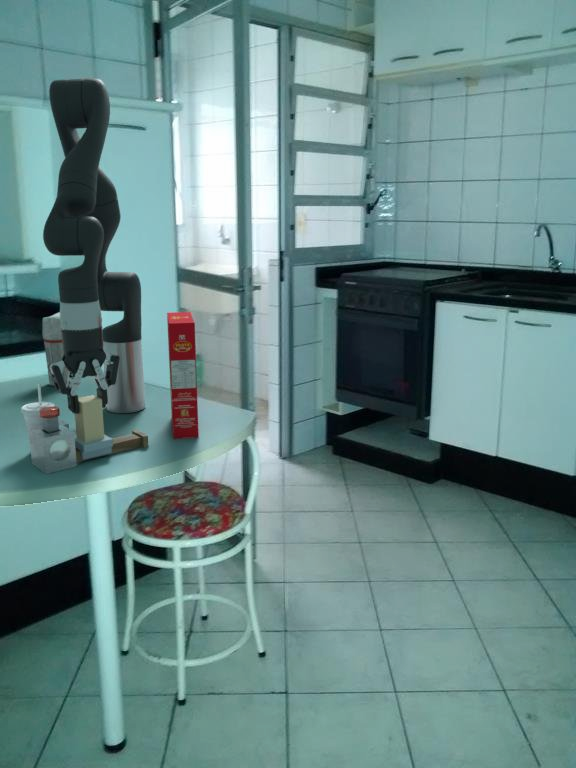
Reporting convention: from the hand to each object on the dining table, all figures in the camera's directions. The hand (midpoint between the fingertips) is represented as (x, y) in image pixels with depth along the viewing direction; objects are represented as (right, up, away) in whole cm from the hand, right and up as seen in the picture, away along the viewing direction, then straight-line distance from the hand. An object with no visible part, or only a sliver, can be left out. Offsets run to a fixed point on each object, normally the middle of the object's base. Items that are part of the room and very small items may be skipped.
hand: (88, 409), depth 135 cm
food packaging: (+16, -5, +20) cm, 26 cm away
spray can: (-24, +5, +57) cm, 62 cm away
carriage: (-3, -8, +5) cm, 10 cm away
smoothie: (-11, -9, +5) cm, 15 cm away
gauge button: (-6, -7, -4) cm, 10 cm away
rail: (+2, -9, +4) cm, 10 cm away
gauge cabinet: (-6, -11, -3) cm, 12 cm away
